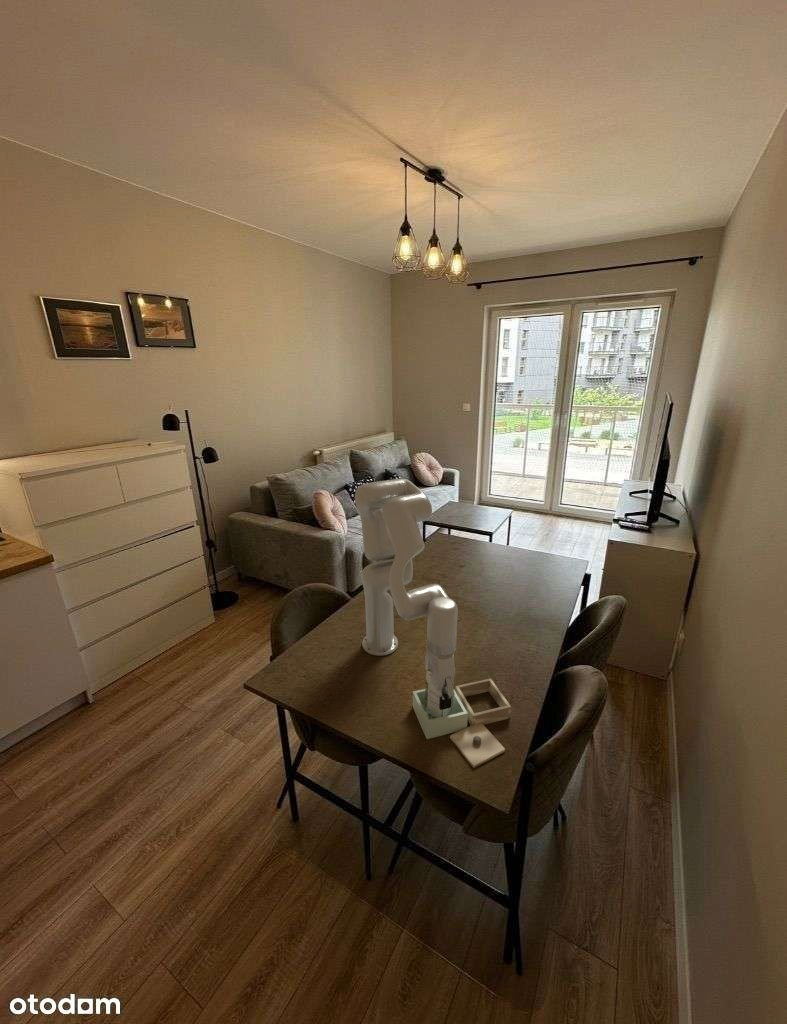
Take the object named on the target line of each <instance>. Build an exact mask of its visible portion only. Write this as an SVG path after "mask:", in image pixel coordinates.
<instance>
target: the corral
mask: <svg viewBox="0 0 787 1024" xmlns="http://www.w3.org/2000/svg"><path fill="white" fill-rule="evenodd" d="M454 686H455V687H454V690H455V692H456V694H457V695H458V697H459V699H460V701H461V702H462V704H463V706H464V707H465V709H466V711H467V713H468V718H467V722H468V723H469V724H470V726H471V725H476V724H480V723H482V724H483V725H484V726H485V725H489V724H492V723H493V724H494V723H497V722H500V721H504V720H505V721H506V720H508V719H511V715H512V714H511V711H512V706H511V704H510V702H509V701H508V700H507V699H506V697H505V696H504V695H503V693H502V692H501V690H500V689H499V688H498V686H497V685H496V684H495V682H494V681H493V679H492V678H486V679H483V680H482V679H481V680H477V681H474V682H468V683H464V684H460V685H459V684H458V685H454ZM487 692H489V695H491V697H492V698H493V700H494V701H495V703H496V704H497V706H498V707H494V708H491V709H487V710H483V711H479V712H474V710H473V708H472V707H471V706H470V703H469V701H467V698H466V697H470V696H475V695H479V694H482V693H487Z"/></svg>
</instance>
